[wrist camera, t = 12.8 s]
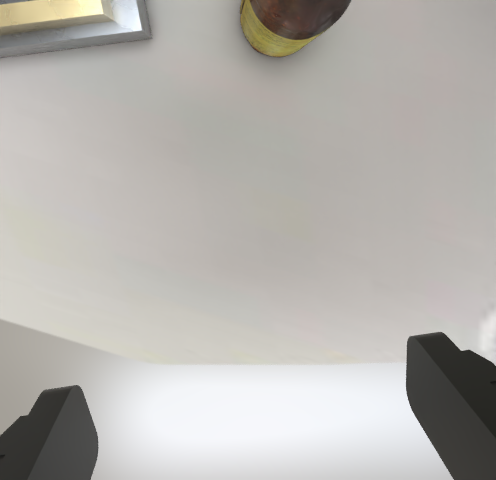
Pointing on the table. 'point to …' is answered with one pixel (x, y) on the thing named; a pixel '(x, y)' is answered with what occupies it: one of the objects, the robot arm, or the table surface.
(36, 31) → the drawer with knob
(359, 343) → the table surface
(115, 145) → the table surface
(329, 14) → the sauce bottle
